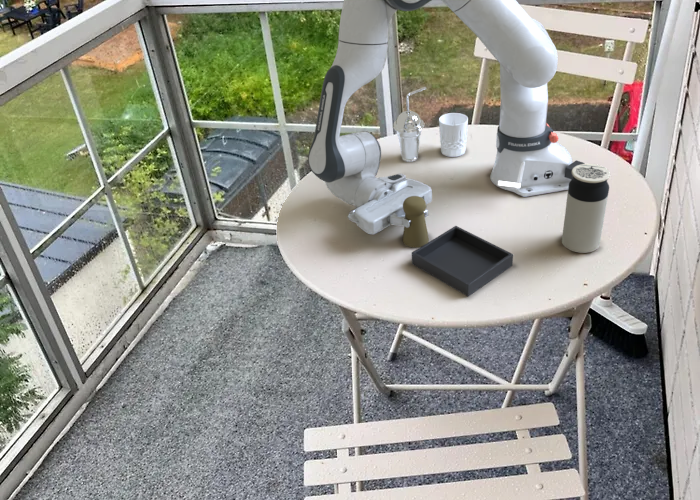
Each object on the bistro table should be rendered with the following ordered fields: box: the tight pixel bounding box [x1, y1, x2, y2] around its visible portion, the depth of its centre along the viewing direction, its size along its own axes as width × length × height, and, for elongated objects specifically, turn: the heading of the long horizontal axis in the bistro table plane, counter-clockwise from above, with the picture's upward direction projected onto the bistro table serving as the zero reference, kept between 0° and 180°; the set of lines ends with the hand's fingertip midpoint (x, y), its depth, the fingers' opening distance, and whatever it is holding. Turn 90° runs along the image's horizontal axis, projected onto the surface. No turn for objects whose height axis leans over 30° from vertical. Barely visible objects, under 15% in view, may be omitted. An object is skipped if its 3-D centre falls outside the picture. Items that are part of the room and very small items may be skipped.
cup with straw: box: [392, 86, 427, 163], centre depth 178 cm, size 8×9×20 cm
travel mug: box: [561, 163, 611, 254], centre depth 139 cm, size 8×8×18 cm
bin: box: [411, 225, 514, 297], centre depth 141 cm, size 16×14×3 cm
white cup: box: [438, 112, 469, 158], centre depth 181 cm, size 8×8×10 cm
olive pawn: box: [402, 196, 430, 249], centre depth 148 cm, size 6×6×11 cm
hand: (418, 219), depth 147 cm, fingers closed on olive pawn, 4 cm apart
